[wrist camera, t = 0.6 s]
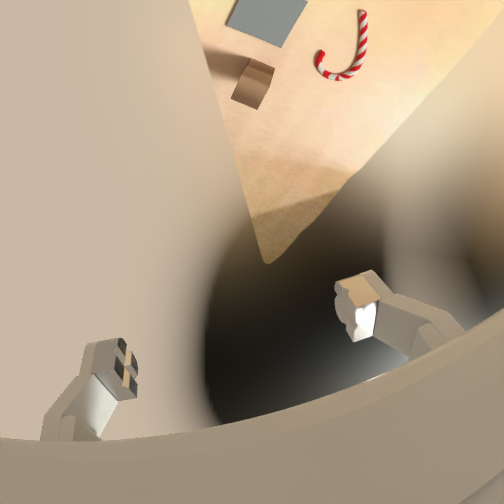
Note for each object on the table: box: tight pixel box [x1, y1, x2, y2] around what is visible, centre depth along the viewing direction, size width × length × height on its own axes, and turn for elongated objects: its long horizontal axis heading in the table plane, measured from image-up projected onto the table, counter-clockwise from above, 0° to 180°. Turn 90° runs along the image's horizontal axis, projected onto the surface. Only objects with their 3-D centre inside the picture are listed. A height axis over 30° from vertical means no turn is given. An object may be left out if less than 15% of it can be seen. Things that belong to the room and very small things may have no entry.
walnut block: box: [231, 58, 275, 110], centre depth 45 cm, size 4×4×10 cm
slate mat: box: [227, 0, 307, 48], centre depth 38 cm, size 10×10×1 cm
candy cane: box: [316, 10, 368, 81], centre depth 41 cm, size 8×1×15 cm
